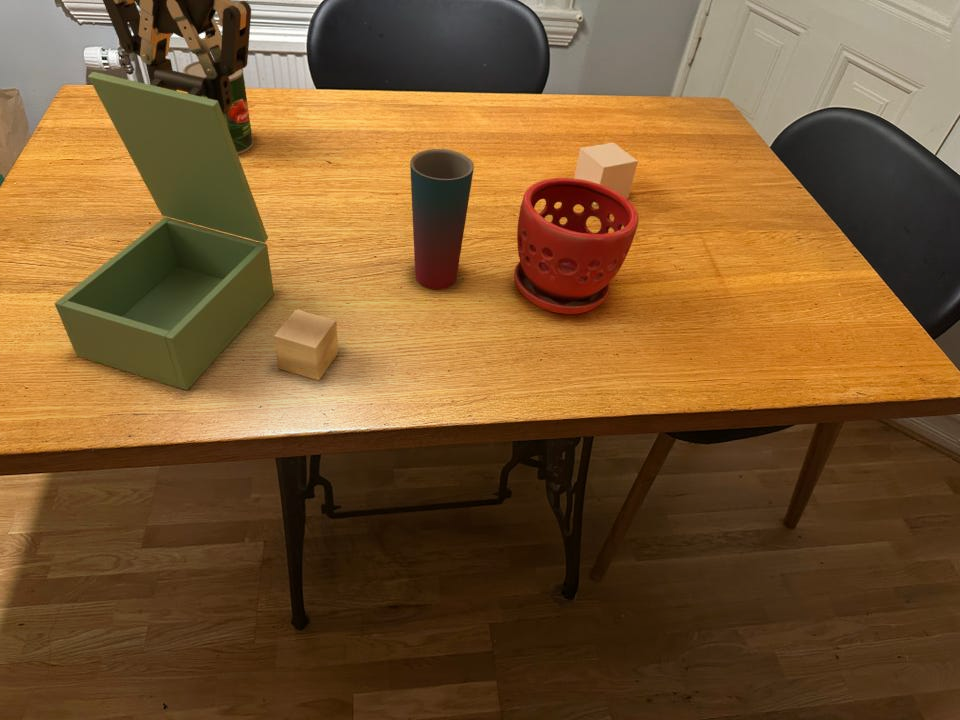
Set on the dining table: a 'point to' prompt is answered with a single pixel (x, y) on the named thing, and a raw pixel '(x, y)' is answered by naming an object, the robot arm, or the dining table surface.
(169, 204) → the lunchbox lid
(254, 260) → the box
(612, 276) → the flower pot
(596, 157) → the beige cube
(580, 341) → the dining table surface
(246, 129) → the canned tomato
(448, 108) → the dining table surface
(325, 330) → the wooden block
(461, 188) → the cup
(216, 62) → the robot arm
